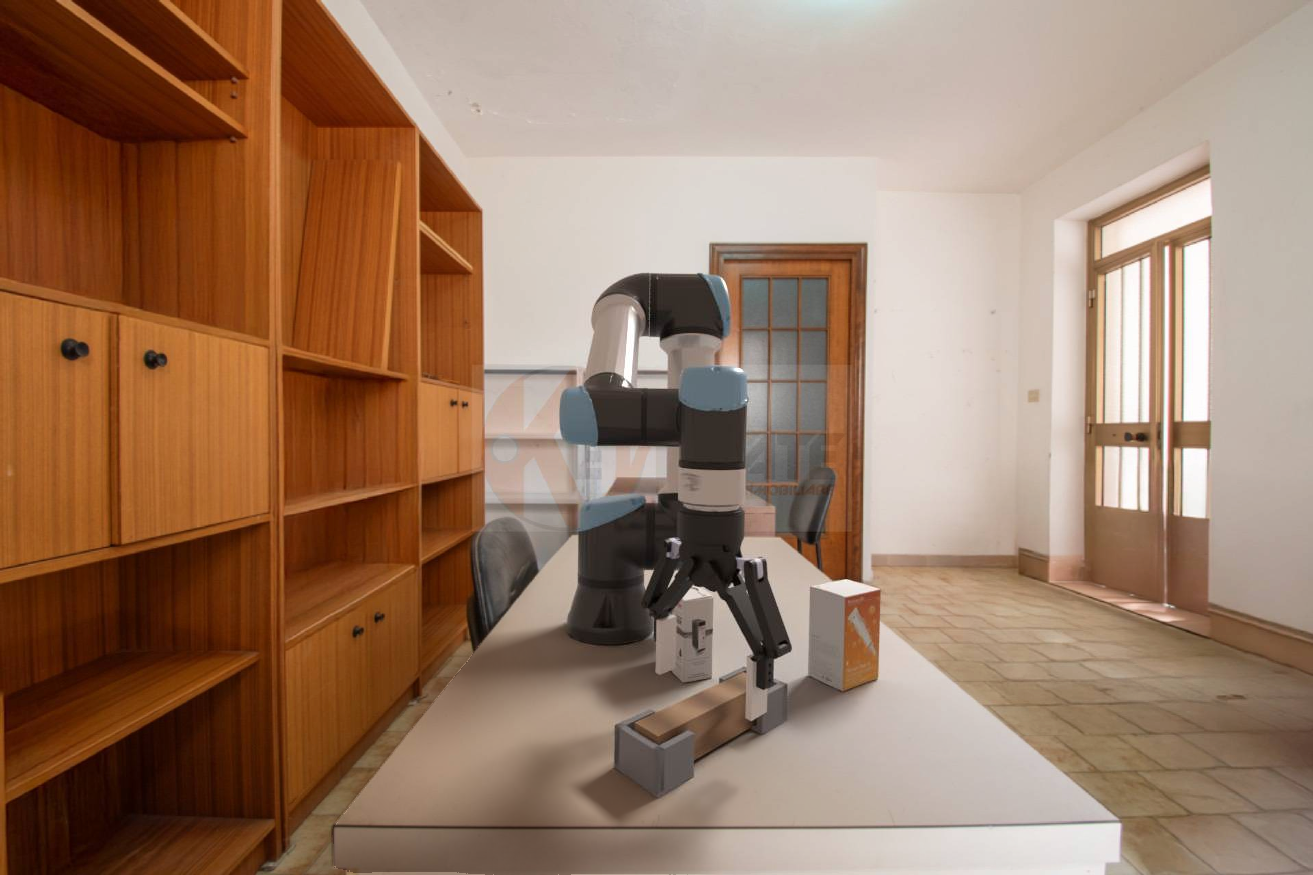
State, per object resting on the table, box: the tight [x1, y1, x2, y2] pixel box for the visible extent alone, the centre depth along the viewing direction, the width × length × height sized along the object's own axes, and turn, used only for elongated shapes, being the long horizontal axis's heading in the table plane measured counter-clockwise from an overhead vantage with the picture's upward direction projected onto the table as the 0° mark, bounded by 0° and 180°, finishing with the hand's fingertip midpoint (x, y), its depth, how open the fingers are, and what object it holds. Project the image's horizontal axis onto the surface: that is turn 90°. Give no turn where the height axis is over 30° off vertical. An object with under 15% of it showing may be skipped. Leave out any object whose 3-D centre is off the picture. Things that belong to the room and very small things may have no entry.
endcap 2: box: [718, 666, 788, 736], centre depth 69 cm, size 7×5×4 cm
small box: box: [807, 578, 882, 692], centre depth 80 cm, size 8×6×13 cm
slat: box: [635, 672, 757, 761], centre depth 62 cm, size 18×4×4 cm, turn 133°
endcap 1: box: [613, 708, 695, 799], centre depth 57 cm, size 7×5×4 cm
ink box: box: [668, 583, 715, 683], centre depth 82 cm, size 9×5×12 cm, turn 23°
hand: (707, 691), depth 63 cm, fingers open, 13 cm apart
